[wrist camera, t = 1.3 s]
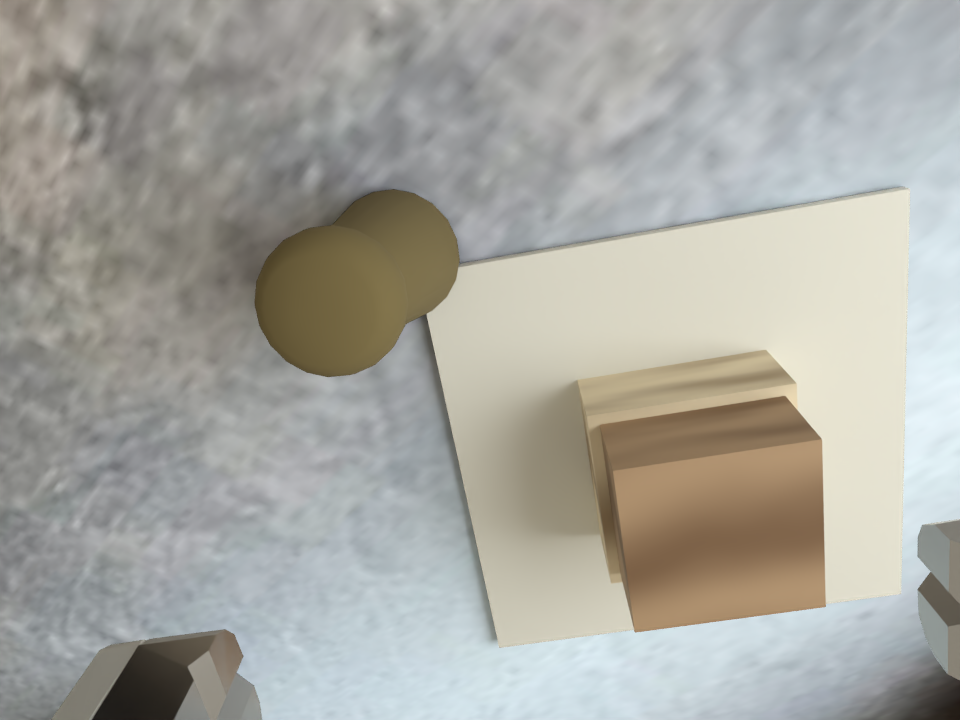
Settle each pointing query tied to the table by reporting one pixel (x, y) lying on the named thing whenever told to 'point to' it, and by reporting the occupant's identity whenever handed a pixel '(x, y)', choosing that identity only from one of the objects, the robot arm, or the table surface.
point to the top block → (717, 513)
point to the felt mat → (667, 341)
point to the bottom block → (669, 408)
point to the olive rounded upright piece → (356, 283)
